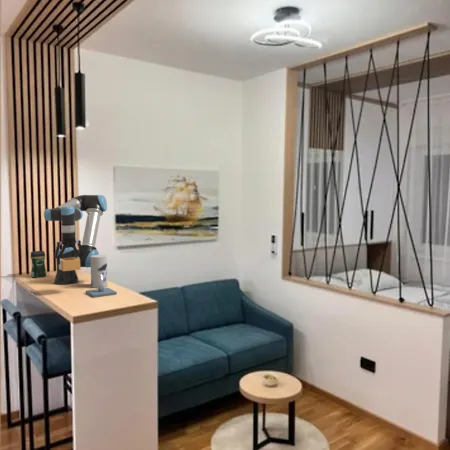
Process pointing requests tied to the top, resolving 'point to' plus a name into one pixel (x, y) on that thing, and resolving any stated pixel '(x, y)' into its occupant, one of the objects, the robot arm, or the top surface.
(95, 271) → the container
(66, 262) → the cardboard box
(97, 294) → the keeper
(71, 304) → the top surface
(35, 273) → the coffee jar
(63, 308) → the top surface
